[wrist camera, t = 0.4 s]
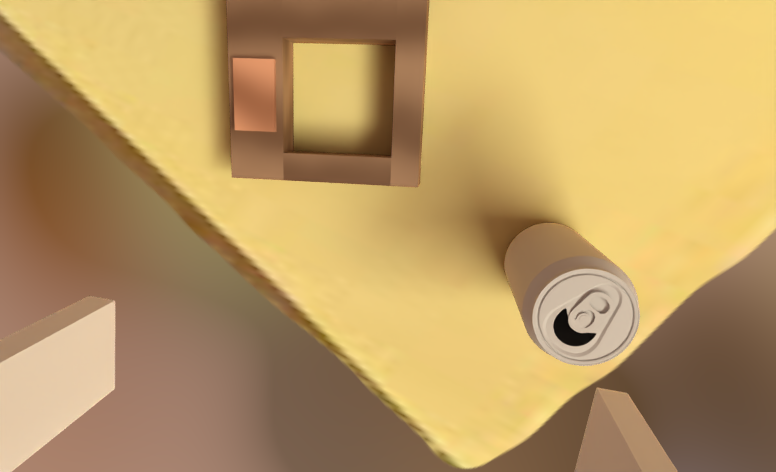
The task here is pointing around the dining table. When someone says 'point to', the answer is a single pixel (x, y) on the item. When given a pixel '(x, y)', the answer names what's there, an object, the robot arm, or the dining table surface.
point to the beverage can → (571, 295)
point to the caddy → (275, 86)
